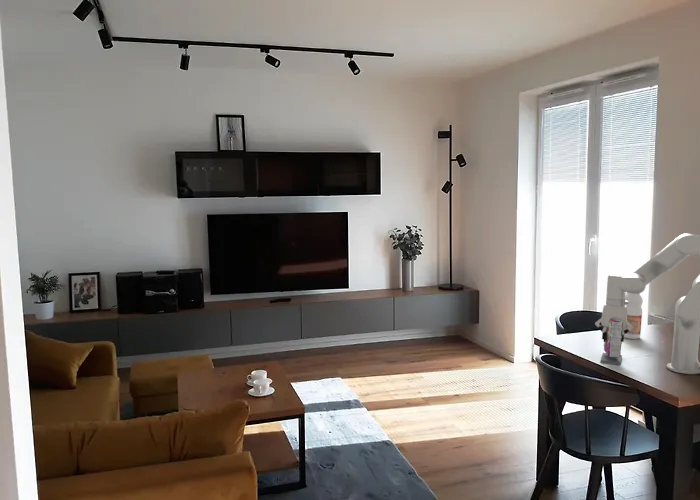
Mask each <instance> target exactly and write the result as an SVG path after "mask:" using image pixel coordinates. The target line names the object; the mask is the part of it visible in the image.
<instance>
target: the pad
mask: <svg viewBox="0 0 700 500" xmlns="http://www.w3.org/2000/svg"><path fill="white" fill-rule="evenodd" d="M622 358H623V355H622V354H621V355H620V358H614V357H609V356H608V355H607V353H606V352H602V354H601V357H600V363H602V364H609V365H616V366H621V364H622Z"/></svg>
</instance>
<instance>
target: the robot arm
mask: <svg viewBox="0 0 700 500" xmlns="http://www.w3.org/2000/svg"><path fill="white" fill-rule="evenodd" d="M689 256H690V257H691V256H693V257H700V234H693V233H688V232H685V233H683V234H680V235H678V236H677V237H675V239H674V240H672V241H671V242H669V243H668V244H667V245H666V246H665V247H664V248H662V249H661V250H660V251H659V252H657V253H656V254H655V255H654V256H652V257H651V258H650V259H648V261H646V262H645V263H644V264H643V265H641V266H640V267H639V268H637V269H636V270H635V271H634V272H632V273H631V274H630V275H629V276H626V275H624V274H620V273H611V274H608V276H607V283H606V284H607V285H606V286H607V287H606V298H605V299H606V300H605V303H604V304H603V306H602V307H603V308H602V312H601V317H600V318H599V319H598V320H597V321H595V323H594V324H595V326H596V327H597V328H598V329H599V331H600V332H601V333H602V334H601V335H602V336H601V340H603V343H604V342H605V341H606V329H607V327H609V320H610V319H615V320H621V321H622V322H623V326H622V340H621V345H622V344H623V343H624V341H625V340H624V339H625V338H624V335H625V334H626V333H627V332H629V331H630V330H632V329H633V326H632V325H631V324H630V323H629V322H628V321H627V307H626V306H625V304H628V302H629V301H626V300H625V294H626V293H627V292H628V293H633V294H639V293H640V294H642V293H643V292H644V291H645V289H646V286H647V285H649V284H650V283H651V282H652V281H654V280H655V279H656V278H657V277H659V276H661V275H663V274H665V273H668V272H670V271H672V270H673V269H674V268H675V267H677V266H678V265H680V263H682V262H683V261H684V260H686V259H687V258H688V257H689ZM600 323H601V324H600ZM626 325H627V326H628V327H629V328H627V329H626V330H624V329H625V328H626ZM673 325H674V326H673V334H672V335H673V337H672V345H671V346H672V347H671V349H672V350H671V360H670V362H669V363H667V364H666V368H667V369H668V370H670V371H672V372H675V373H677V374H678V373H679V374H683V375H684V374H685V375H699V374H700V362H699V347H700V273H699V274H698V275H697V276H696V278H695V279H694V280H693V282H692V285H691V289H690V290H689V291H688V293H687V294H686V295H684V296H681V297H679V299H677V300H676V303H675V308H674V324H673Z"/></svg>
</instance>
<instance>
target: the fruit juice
mask: <svg viewBox="0 0 700 500" xmlns="http://www.w3.org/2000/svg"><path fill="white" fill-rule="evenodd" d="M625 300H626V301H629V302H628V304H625V306H626V307H627V321H628V322H629V323H630V324H631V325H632V326H633V329H632V330H630V331H629V332H627V333H626V334H625V335H624V339H631V340H638V339H640V338H641V332H642V331H641V330H642V320H643V319H642V318H643V308H642V306H643V302H644V300H643V297H642V296H641V293H639V294H633V293H628V292H626V293H625ZM627 328H629V327H628V326H627V325H626V328H625V329H624V330H626V329H627Z"/></svg>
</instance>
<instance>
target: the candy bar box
mask: <svg viewBox="0 0 700 500" xmlns="http://www.w3.org/2000/svg"><path fill="white" fill-rule="evenodd" d="M622 326H623V322H622V321H621V320H615V319H610V320H609V327H607V329H606V341H605V342H604V341H603V344H604V345H603V351H604V353H607V355H608V356H609V357H614V358H620V355H622V352H621V351H622V344H621V340H622Z"/></svg>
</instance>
